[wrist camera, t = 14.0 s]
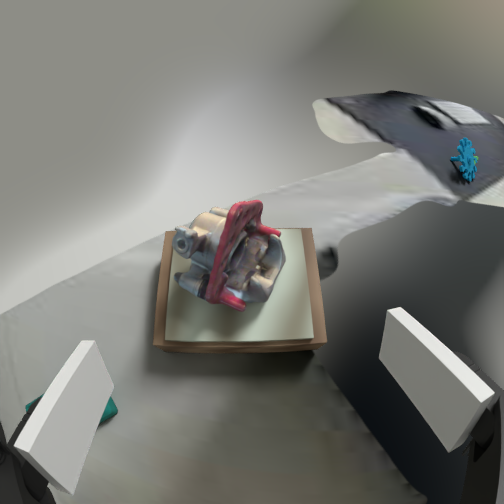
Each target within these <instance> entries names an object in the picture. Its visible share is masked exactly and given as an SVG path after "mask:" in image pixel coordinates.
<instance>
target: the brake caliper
mask: <svg viewBox="0 0 504 504" xmlns="http://www.w3.org/2000/svg"><path fill="white" fill-rule="evenodd" d="M262 210H263V204H262V202H261V201H259V200H253V201H248V202H245V201H243V202H238V203H235V204H234V205H233V206H232V207H231V209H230V210H226V209H222V208H219V207H213V208H212V209H211V210H210V212H209V213H208V212H204V213H201V214H200V215H198V216H197V217H196V218H195V219H194V220H193V222H192V223H191V225H190V227H189V228H186V227H184V226H177V227H175V230H176V231H177V233H176V234H175V235H174V237H173V240H172V247H173V249H174V250H175V251H176V252H177V253H178V254H179V255H180V256H182V257H183V258H185V259H189V258H191V265H190V271H188V272H186V273H181V272H177V273H175V274H174V280H175V281H176V282H177V283H178V284H179V285H180V286H181V287H182V288H183V289H185V290H187V291H189V292H190V293H192V294H193V295H195V296H196V297H199V298H201V299H203V300H205V301H207V302H209V303H210V304H224V305H227V306H229V307H231V308H233V309H235V310H237V311H240V312H244V311H245V310H246V307H247V306H246V303H245V302H248V303H253V302H259V303H264V302H266V301H267V300H268V299H269V297H270V295H271V293H272V291H273V288H274V284H275V282H276V279H277V277H278V275H279V274H280V272H281V270H282V268H283V266H284V264H285V262H286V256H285V252H284V250H283V246H282V242H281V240H280V236H281V232H280V231H278V230H276V229H273V228H270V227H267V226H264V225H262V224H261V214H262ZM244 301H245V302H244Z"/></svg>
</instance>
